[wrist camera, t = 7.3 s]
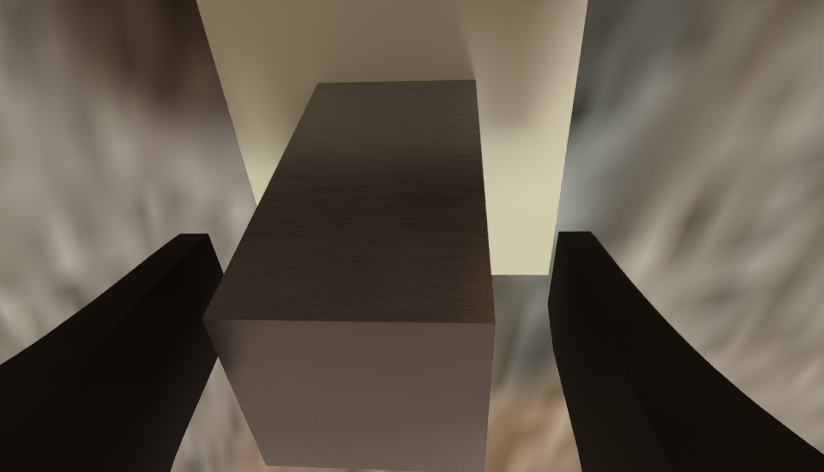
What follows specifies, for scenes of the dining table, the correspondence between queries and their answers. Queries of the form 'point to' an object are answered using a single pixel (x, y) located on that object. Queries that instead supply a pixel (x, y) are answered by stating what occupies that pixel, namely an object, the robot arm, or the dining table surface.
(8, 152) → the dining table surface
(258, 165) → the pad
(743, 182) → the dining table surface
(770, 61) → the dining table surface
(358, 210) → the square peg
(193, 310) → the robot arm
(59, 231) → the dining table surface
